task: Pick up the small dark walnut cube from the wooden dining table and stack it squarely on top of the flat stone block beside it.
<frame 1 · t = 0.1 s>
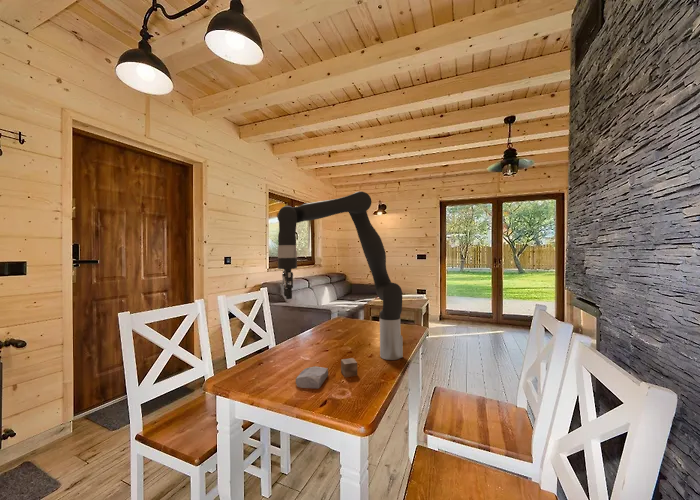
hand: (287, 297, 114), 29 cm above the table, tool pointing down, fingers open, 8 cm apart
stone block: (311, 382, 105), on the table
walnut cube: (349, 374, 110), on the table
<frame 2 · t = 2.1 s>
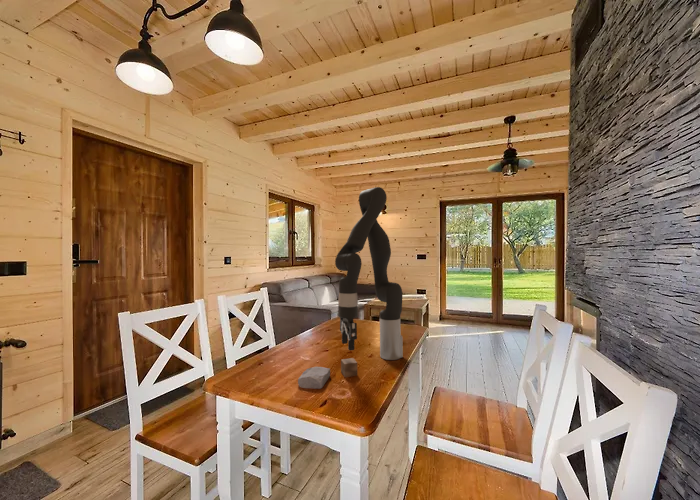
hand: (347, 346, 110), 10 cm above the table, tool pointing down, fingers open, 8 cm apart
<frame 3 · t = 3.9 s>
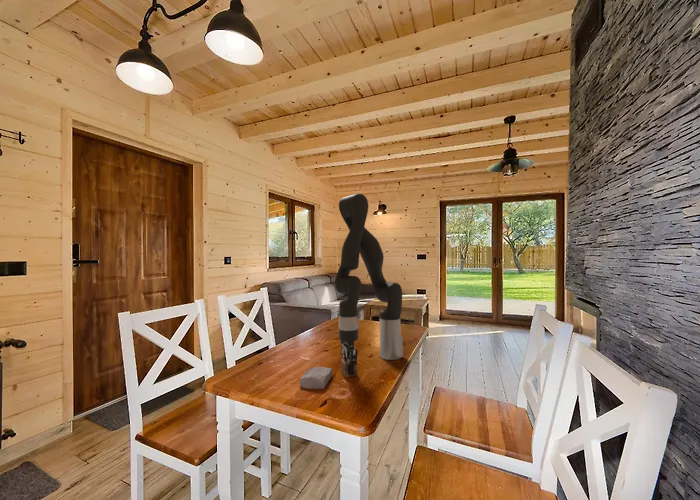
hand: (349, 371, 110), 1 cm above the table, tool pointing down, fingers closed on walnut cube, 5 cm apart
walnut cube: (349, 373, 110), on the table, touching gripper
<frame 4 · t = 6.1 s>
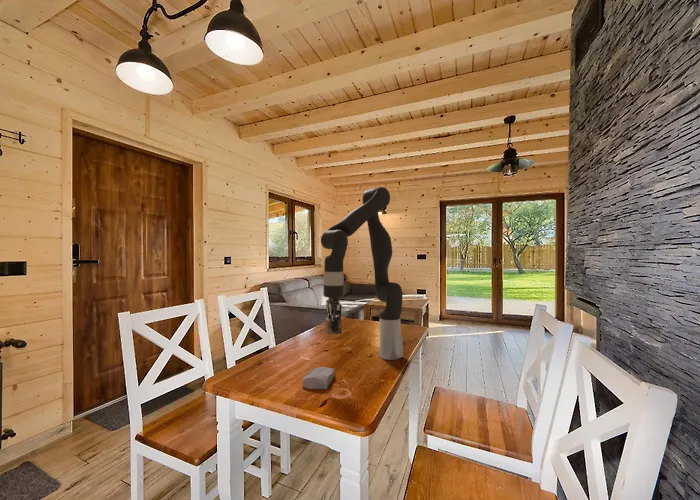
hand: (333, 329, 106), 18 cm above the table, tool pointing down, fingers closed on walnut cube, 5 cm apart
walnut cube: (333, 332, 106), point 17 cm above the table, touching gripper
when the fingers open (6 cm above the table, at t = 8.7 s): walnut cube drops 2 cm, resting on stone block.
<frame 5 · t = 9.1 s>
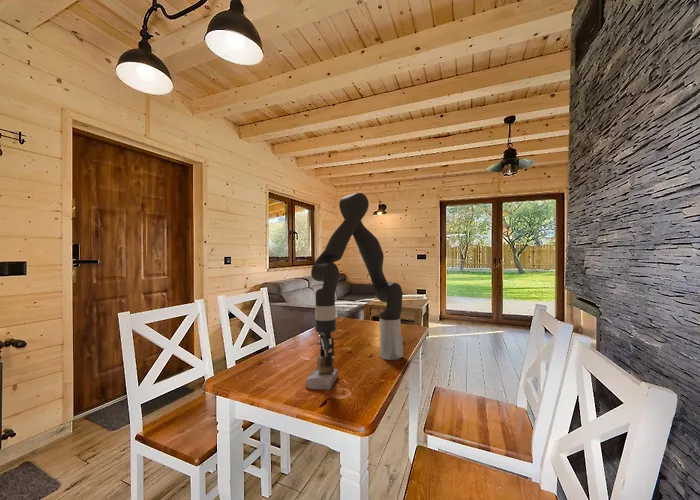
hand: (326, 362, 104), 7 cm above the table, tool pointing down, fingers open, 8 cm apart
stone block: (321, 383, 104), on the table, touching walnut cube
walnut cube: (325, 371, 104), point 4 cm above the table, tilted 6°, touching stone block
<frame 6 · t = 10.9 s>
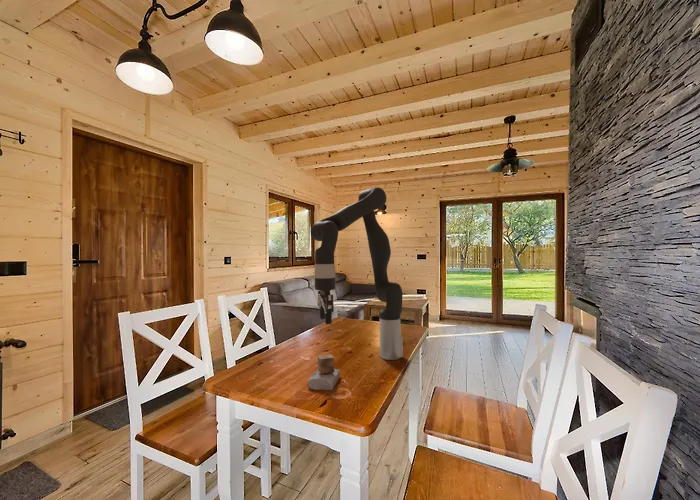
hand: (325, 321, 104), 22 cm above the table, tool pointing down, fingers open, 8 cm apart
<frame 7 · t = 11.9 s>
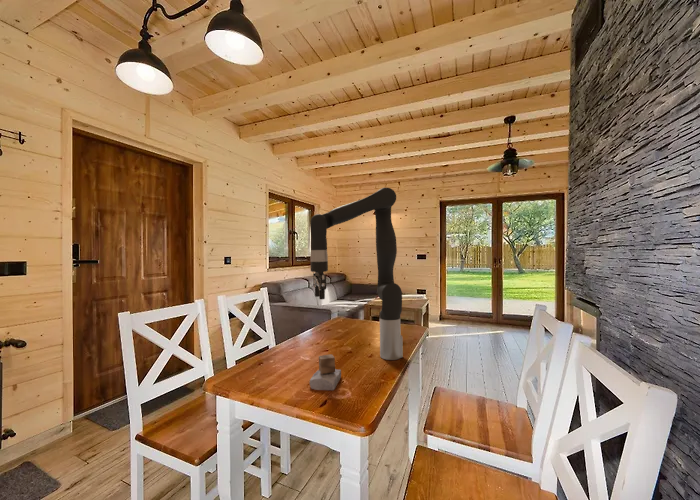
hand: (319, 297, 125), 27 cm above the table, tool pointing down, fingers open, 8 cm apart
stone block: (325, 383, 103), on the table
walnut cube: (327, 370, 104), point 4 cm above the table, tilted 6°
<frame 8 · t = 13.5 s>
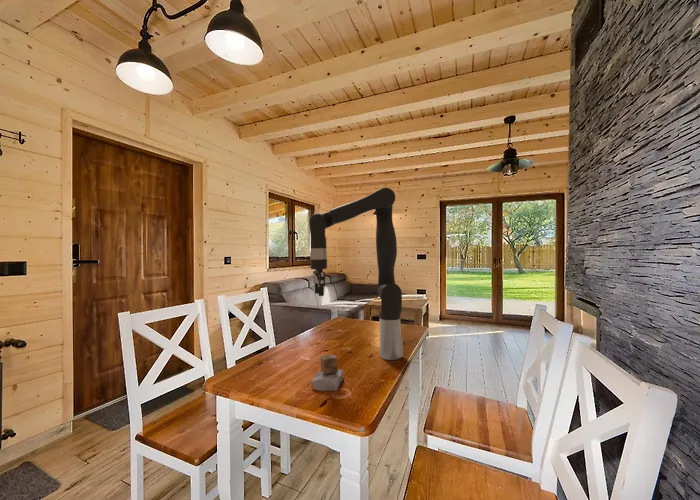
hand: (319, 294, 129), 28 cm above the table, tool pointing down, fingers open, 8 cm apart
stone block: (327, 384, 103), on the table, touching walnut cube
walnut cube: (329, 371, 104), point 4 cm above the table, tilted 6°, touching stone block
at the end: walnut cube inside the target area on the stone block (1.1 cm from its centre), point 4.4 cm above the stone block's base; walnut cube tilted 5°; walnut cube touching stone block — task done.
